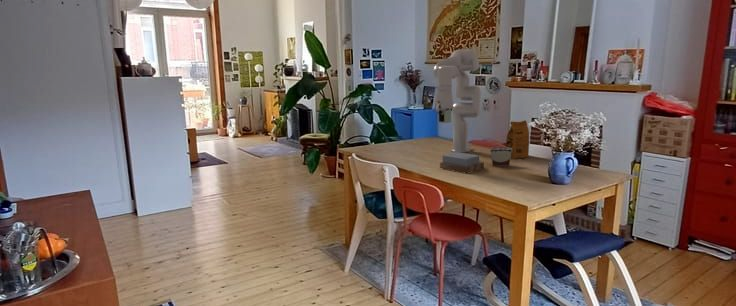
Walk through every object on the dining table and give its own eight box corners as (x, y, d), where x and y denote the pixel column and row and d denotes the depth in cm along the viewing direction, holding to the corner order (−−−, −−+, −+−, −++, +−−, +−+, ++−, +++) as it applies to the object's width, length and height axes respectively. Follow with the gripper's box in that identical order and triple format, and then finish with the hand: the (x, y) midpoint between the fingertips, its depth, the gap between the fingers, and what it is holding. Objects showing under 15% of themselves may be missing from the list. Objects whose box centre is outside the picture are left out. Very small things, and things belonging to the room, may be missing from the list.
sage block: (444, 121, 272) (444, 109, 271) (451, 122, 269) (451, 109, 267) (438, 122, 269) (438, 110, 268) (445, 123, 266) (445, 110, 264)
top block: (455, 158, 273) (455, 152, 273) (479, 162, 262) (479, 155, 261) (442, 162, 265) (442, 155, 265) (466, 166, 254) (466, 159, 253)
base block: (457, 164, 276) (457, 157, 276) (483, 169, 264) (483, 162, 263) (440, 169, 266) (440, 162, 265) (467, 174, 253) (467, 167, 252)
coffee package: (503, 156, 291) (504, 120, 286) (521, 154, 294) (522, 119, 289) (512, 159, 281) (513, 122, 277) (530, 157, 284) (532, 121, 280)
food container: (510, 163, 272) (510, 146, 270) (512, 165, 266) (512, 148, 264) (488, 163, 273) (488, 146, 271) (489, 166, 267) (490, 148, 265)
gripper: (449, 87, 273) (449, 118, 277) (429, 89, 262) (429, 122, 266) (459, 87, 268) (459, 119, 272) (440, 89, 257) (440, 123, 260)
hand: (444, 120), depth 269 cm, fingers closed on sage block, 5 cm apart
